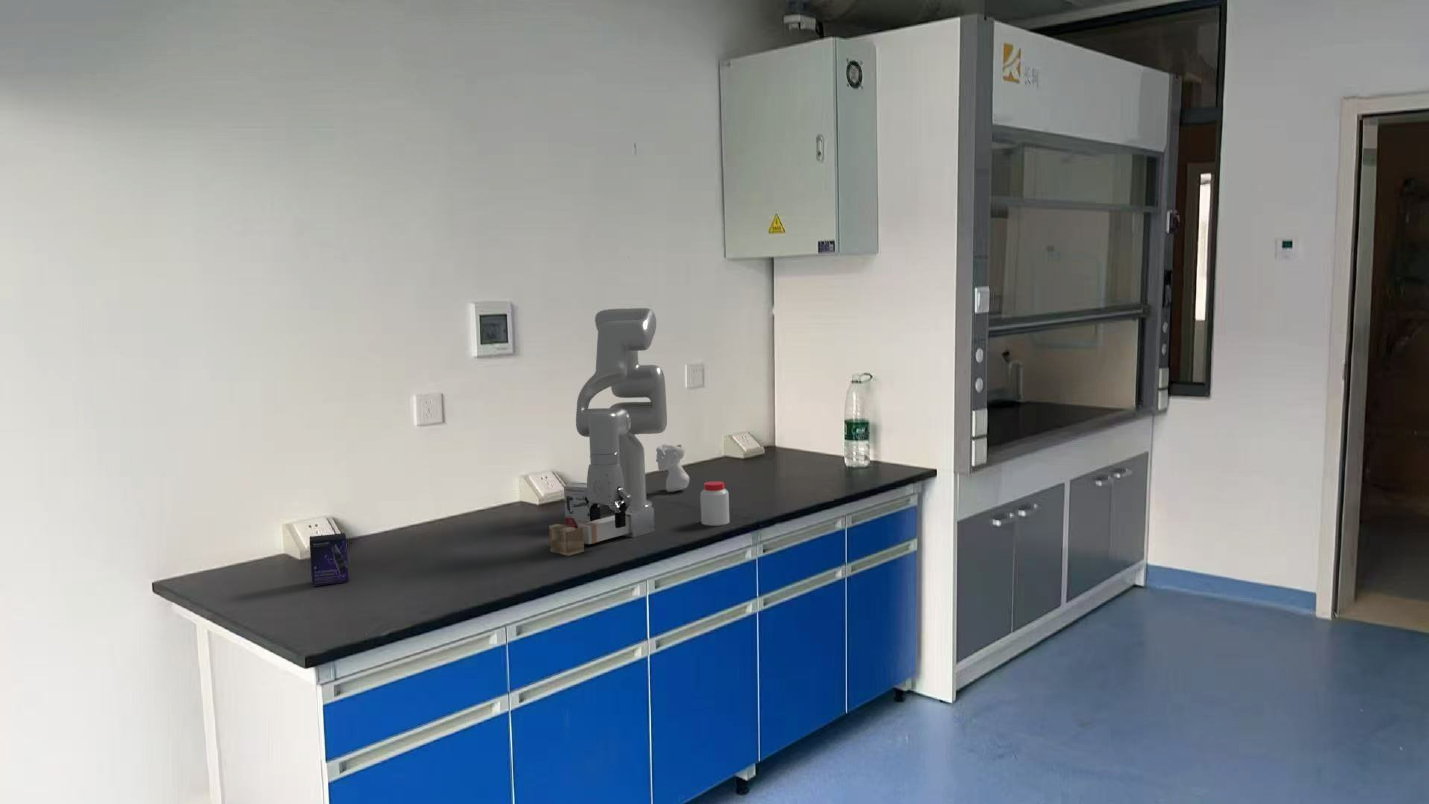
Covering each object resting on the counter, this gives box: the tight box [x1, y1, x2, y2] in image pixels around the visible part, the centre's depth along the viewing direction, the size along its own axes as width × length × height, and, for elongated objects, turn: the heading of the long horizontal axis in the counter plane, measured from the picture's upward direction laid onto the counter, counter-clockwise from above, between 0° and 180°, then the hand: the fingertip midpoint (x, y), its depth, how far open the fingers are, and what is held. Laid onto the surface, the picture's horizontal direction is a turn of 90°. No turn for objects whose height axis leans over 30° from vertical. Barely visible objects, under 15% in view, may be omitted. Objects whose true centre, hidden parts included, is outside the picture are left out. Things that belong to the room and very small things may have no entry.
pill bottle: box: [699, 480, 730, 527], centre depth 277 cm, size 8×8×11 cm
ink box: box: [563, 481, 600, 529], centre depth 278 cm, size 9×5×12 cm, turn 70°
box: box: [309, 532, 350, 588], centre depth 231 cm, size 8×6×11 cm
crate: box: [548, 523, 585, 557], centre depth 251 cm, size 7×5×7 cm
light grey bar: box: [578, 514, 631, 545], centre depth 264 cm, size 4×22×5 cm, turn 138°
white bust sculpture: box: [655, 443, 690, 493], centre depth 321 cm, size 10×11×15 cm
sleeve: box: [614, 505, 656, 538], centre depth 269 cm, size 7×8×6 cm
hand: (607, 524), depth 261 cm, fingers open, 9 cm apart
